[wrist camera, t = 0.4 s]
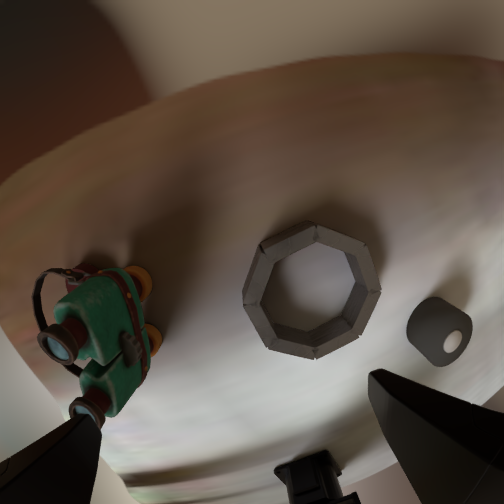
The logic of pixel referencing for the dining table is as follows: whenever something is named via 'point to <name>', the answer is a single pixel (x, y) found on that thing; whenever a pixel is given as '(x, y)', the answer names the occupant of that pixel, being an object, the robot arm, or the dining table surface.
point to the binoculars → (100, 334)
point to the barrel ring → (332, 331)
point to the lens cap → (439, 331)
